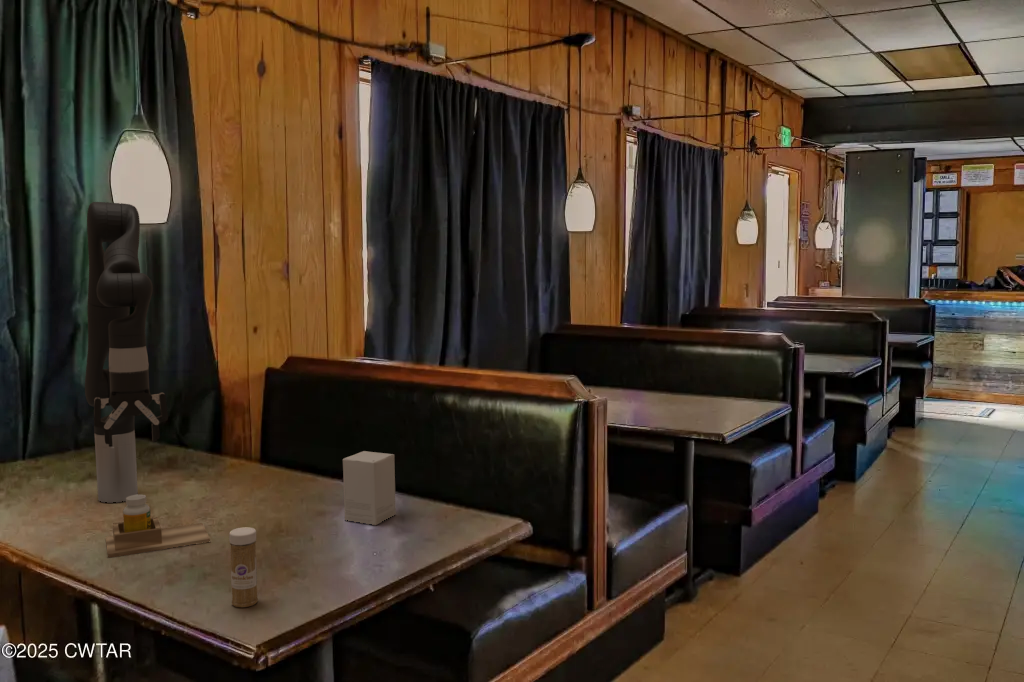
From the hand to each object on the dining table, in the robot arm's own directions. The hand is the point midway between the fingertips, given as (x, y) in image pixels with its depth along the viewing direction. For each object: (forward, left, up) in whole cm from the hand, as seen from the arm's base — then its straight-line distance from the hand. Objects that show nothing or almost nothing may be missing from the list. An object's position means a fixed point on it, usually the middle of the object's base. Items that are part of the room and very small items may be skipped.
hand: (132, 443), depth 180 cm
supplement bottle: (0, 0, -21) cm, 21 cm away
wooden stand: (0, +4, -22) cm, 22 cm away
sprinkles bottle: (+42, +15, -22) cm, 50 cm away
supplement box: (+6, +50, -22) cm, 55 cm away
